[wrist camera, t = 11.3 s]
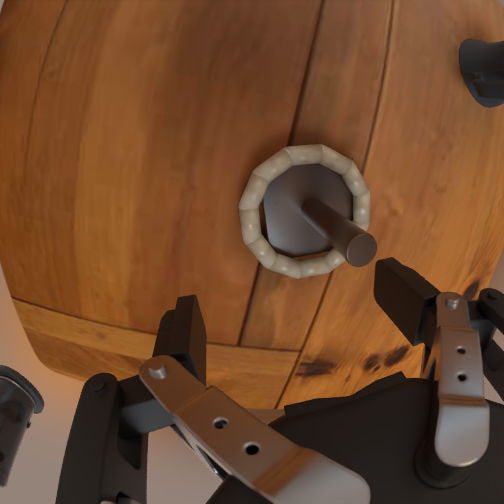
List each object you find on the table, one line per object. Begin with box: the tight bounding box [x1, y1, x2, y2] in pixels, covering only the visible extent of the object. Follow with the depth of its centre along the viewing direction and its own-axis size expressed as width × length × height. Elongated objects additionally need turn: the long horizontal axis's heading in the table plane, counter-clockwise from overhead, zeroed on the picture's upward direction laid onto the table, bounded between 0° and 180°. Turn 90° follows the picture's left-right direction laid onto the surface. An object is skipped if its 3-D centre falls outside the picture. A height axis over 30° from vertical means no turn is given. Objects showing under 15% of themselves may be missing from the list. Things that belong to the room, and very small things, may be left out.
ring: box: [238, 144, 370, 279], centre depth 22 cm, size 11×11×2 cm
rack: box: [261, 157, 377, 267], centre depth 20 cm, size 8×8×10 cm
